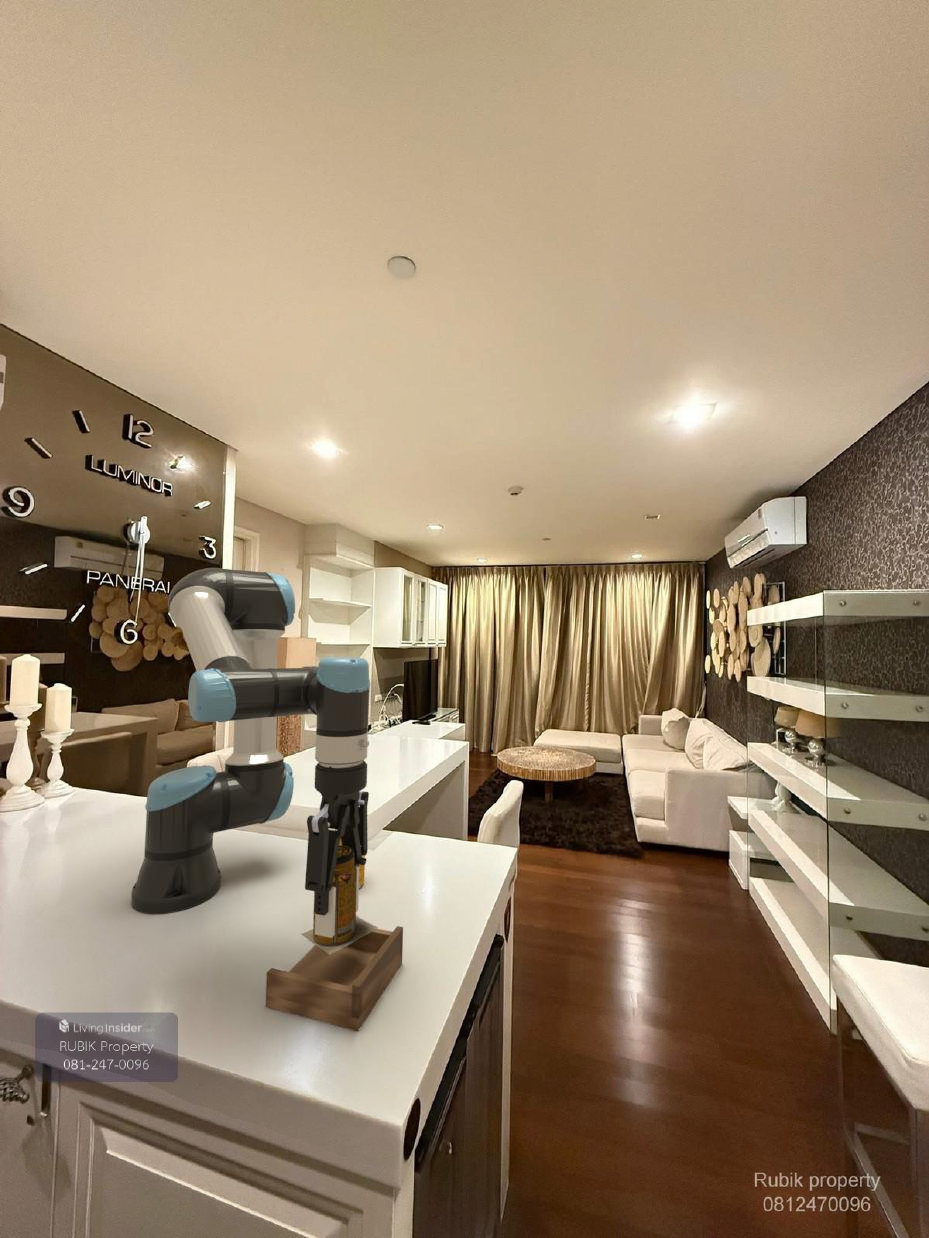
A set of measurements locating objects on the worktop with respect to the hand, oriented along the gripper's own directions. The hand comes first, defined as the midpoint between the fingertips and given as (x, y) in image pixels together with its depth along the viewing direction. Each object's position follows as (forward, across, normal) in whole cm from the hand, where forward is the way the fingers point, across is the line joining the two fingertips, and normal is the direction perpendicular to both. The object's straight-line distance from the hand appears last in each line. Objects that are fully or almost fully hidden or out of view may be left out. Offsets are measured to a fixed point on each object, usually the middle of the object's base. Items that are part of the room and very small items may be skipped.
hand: (337, 921), depth 73 cm
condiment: (+2, +1, 0) cm, 2 cm away
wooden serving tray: (+9, 0, 0) cm, 9 cm away
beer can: (+9, +26, +13) cm, 30 cm away
